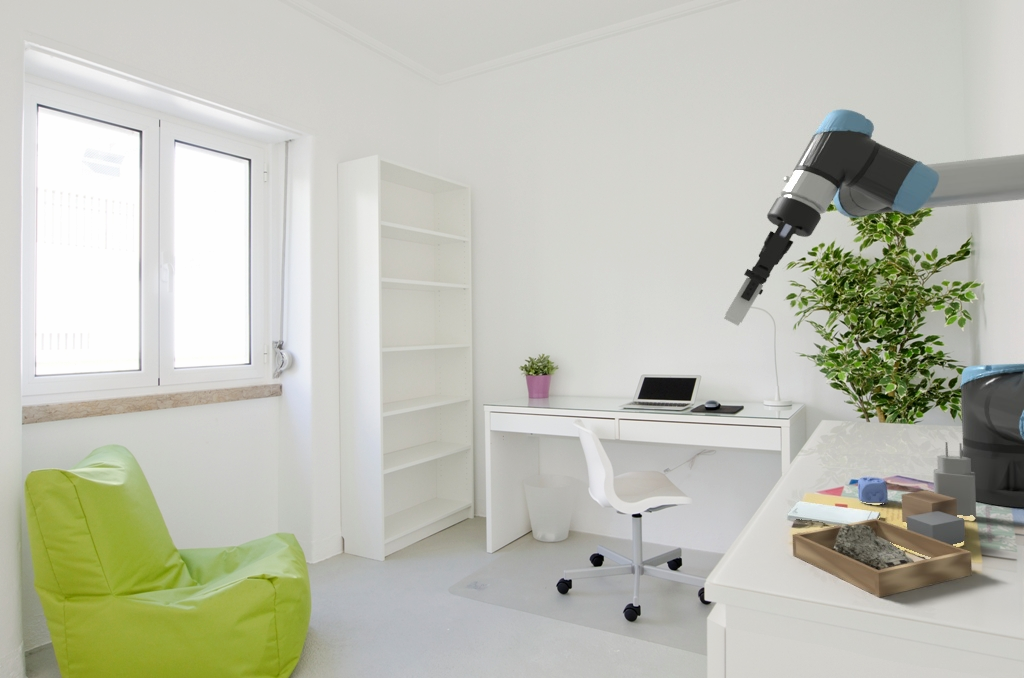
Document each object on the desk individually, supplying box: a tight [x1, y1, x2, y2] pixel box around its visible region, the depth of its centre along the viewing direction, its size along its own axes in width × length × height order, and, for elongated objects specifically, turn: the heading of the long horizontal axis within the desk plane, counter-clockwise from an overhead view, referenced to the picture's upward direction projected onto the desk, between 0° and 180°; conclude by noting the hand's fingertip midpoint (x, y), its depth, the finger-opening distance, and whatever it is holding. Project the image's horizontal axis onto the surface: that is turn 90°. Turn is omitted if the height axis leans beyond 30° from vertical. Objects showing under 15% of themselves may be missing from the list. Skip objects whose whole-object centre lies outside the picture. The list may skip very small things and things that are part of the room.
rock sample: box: [834, 524, 915, 570], centre depth 83 cm, size 10×8×9 cm
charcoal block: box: [906, 511, 966, 545], centre depth 90 cm, size 6×4×4 cm, turn 107°
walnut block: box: [901, 489, 957, 523], centre depth 96 cm, size 5×5×5 cm
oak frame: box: [792, 519, 973, 598], centre depth 84 cm, size 15×14×3 cm
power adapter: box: [932, 441, 977, 519], centre depth 100 cm, size 3×5×12 cm, turn 53°
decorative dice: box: [857, 476, 889, 504], centre depth 109 cm, size 4×4×4 cm
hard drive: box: [786, 501, 881, 526], centre depth 102 cm, size 2×8×12 cm
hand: (731, 320), depth 104 cm, fingers open, 13 cm apart
